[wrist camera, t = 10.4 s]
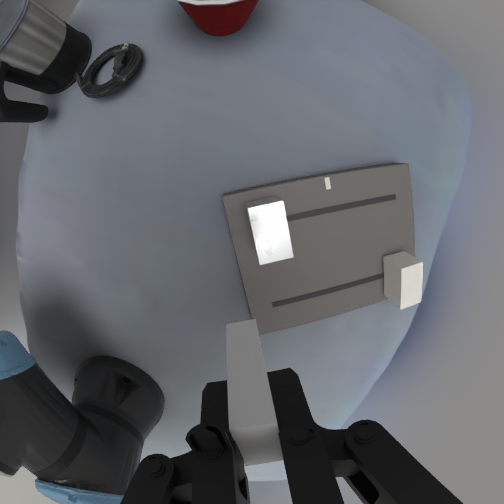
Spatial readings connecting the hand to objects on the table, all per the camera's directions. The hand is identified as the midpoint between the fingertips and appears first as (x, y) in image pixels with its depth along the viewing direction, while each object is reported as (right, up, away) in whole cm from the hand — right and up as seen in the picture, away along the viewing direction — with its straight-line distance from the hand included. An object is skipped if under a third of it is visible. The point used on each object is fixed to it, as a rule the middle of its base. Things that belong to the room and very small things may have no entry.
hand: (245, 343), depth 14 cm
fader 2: (+17, +2, +16) cm, 24 cm away
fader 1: (+2, +7, +13) cm, 15 cm away
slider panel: (+9, +6, +18) cm, 21 cm away
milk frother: (-20, +28, +9) cm, 35 cm away
